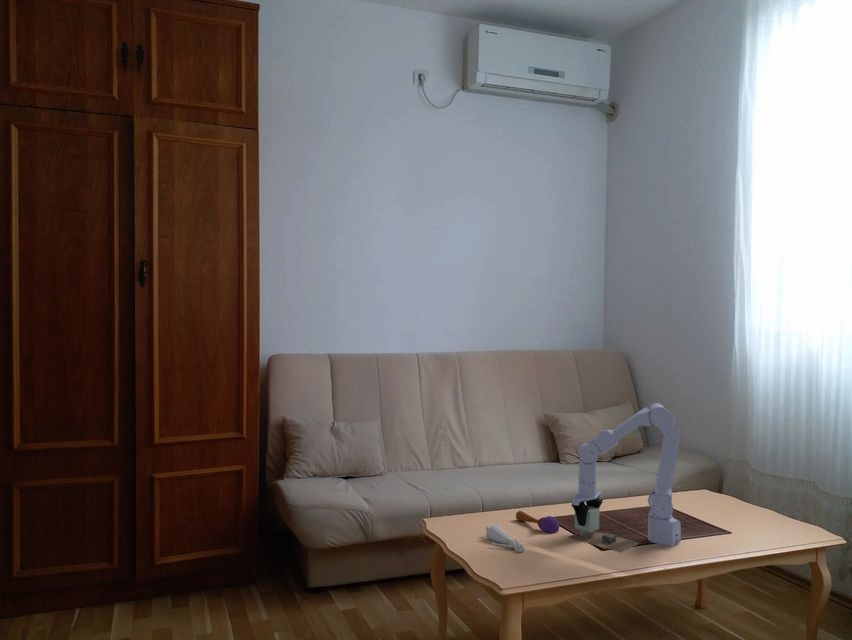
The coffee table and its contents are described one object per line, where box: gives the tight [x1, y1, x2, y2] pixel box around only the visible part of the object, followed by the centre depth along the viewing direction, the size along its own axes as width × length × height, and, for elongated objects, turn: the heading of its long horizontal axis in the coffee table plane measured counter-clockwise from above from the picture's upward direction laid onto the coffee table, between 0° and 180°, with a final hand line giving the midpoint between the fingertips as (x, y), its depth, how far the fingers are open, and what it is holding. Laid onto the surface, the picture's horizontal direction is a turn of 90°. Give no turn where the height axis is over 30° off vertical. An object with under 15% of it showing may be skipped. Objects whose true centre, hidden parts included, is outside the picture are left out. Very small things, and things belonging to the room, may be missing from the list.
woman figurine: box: [485, 524, 525, 553], centre depth 221 cm, size 12×4×18 cm
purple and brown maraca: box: [515, 510, 560, 534], centre depth 237 cm, size 6×6×20 cm
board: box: [567, 530, 641, 553], centre depth 222 cm, size 19×12×6 cm, turn 46°
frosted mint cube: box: [574, 506, 600, 532], centre depth 226 cm, size 6×6×6 cm
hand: (586, 523), depth 226 cm, fingers closed on frosted mint cube, 6 cm apart
